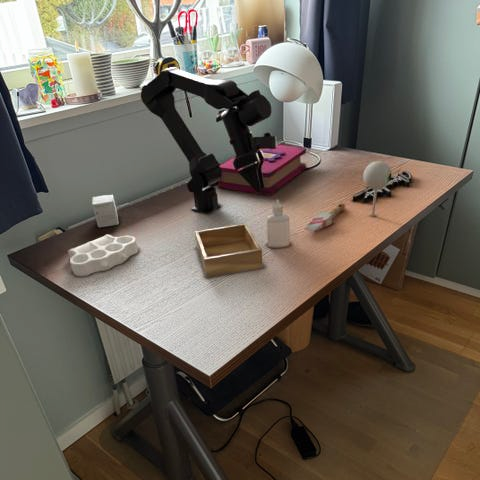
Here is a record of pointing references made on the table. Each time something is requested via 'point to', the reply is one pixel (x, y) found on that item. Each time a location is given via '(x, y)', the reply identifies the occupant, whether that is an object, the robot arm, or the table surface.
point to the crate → (228, 250)
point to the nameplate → (394, 182)
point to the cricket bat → (323, 218)
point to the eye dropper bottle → (278, 227)
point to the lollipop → (377, 178)
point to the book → (267, 170)
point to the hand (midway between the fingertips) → (261, 190)
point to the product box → (105, 210)
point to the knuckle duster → (101, 254)
